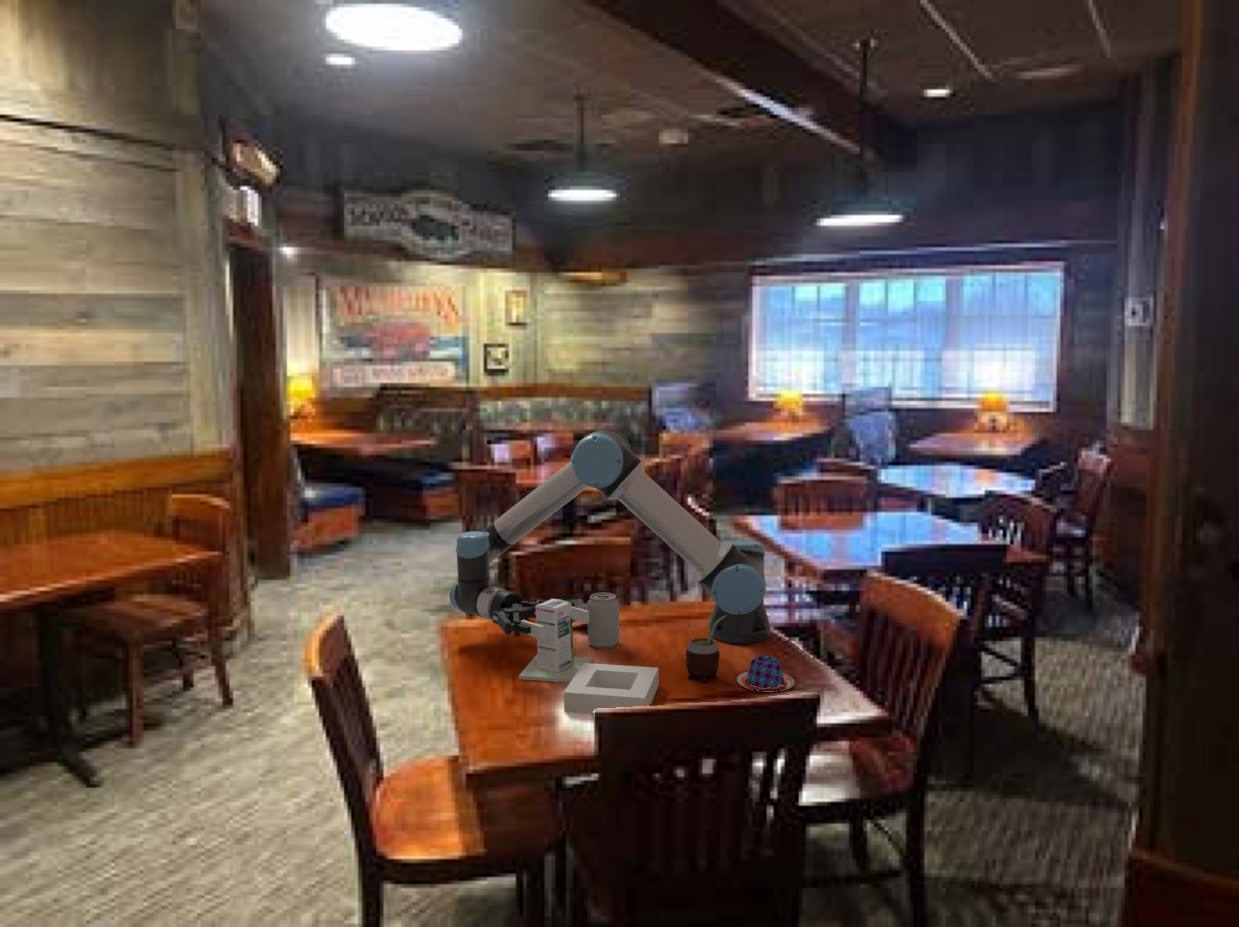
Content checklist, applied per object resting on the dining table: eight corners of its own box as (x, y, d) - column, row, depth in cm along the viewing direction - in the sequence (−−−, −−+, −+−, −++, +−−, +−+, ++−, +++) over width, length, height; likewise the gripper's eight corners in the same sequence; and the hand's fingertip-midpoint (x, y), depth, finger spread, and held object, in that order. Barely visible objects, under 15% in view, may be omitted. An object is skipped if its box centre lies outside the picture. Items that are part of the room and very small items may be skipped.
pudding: (804, 681, 189) (805, 657, 189) (777, 699, 180) (777, 674, 179) (754, 669, 197) (754, 646, 196) (726, 686, 187) (726, 662, 187)
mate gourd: (683, 672, 194) (683, 605, 192) (719, 671, 195) (719, 604, 193) (689, 685, 187) (689, 616, 185) (726, 684, 188) (727, 615, 186)
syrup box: (558, 673, 193) (556, 608, 190) (536, 668, 196) (535, 603, 194) (574, 665, 197) (572, 601, 195) (553, 660, 201) (551, 597, 198)
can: (620, 639, 216) (620, 591, 214) (617, 650, 209) (617, 600, 207) (590, 638, 217) (589, 590, 215) (585, 649, 210) (585, 599, 208)
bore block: (658, 686, 187) (658, 667, 187) (644, 717, 172) (644, 697, 171) (584, 680, 190) (583, 662, 190) (564, 711, 175) (563, 692, 174)
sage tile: (592, 661, 202) (592, 657, 202) (577, 683, 189) (577, 679, 189) (536, 657, 204) (536, 654, 204) (518, 679, 192) (518, 675, 192)
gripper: (541, 609, 217) (605, 627, 203) (458, 635, 198) (523, 657, 184) (540, 578, 216) (605, 595, 202) (457, 602, 197) (522, 621, 183)
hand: (566, 624), depth 193 cm, fingers open, 13 cm apart
